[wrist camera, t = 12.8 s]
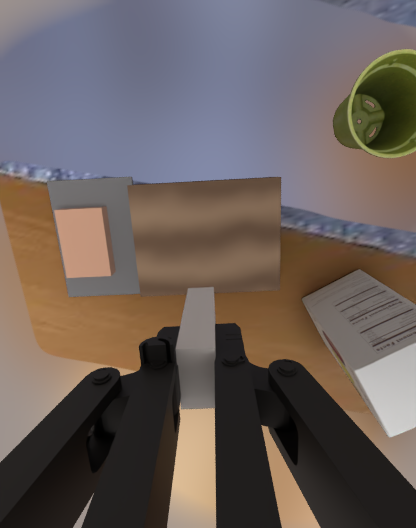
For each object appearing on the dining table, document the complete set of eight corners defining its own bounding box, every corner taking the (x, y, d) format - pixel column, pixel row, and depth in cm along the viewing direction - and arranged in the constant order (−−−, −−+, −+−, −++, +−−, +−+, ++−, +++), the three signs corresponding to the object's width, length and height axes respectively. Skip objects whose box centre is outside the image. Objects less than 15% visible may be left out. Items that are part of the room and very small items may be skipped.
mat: (145, 292, 44) (145, 293, 44) (69, 296, 44) (68, 296, 44) (132, 176, 40) (131, 176, 39) (48, 181, 40) (46, 181, 40)
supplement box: (299, 297, 44) (350, 368, 28) (359, 266, 43) (450, 321, 26) (327, 348, 46) (390, 442, 30) (385, 320, 45) (484, 402, 29)
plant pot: (303, 138, 38) (328, 127, 30) (347, 62, 36) (389, 27, 27) (364, 175, 39) (405, 175, 31) (411, 104, 37) (470, 83, 29)
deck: (273, 280, 43) (279, 290, 39) (146, 285, 44) (140, 296, 40) (274, 177, 39) (281, 177, 36) (135, 184, 40) (127, 185, 36)
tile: (66, 278, 41) (73, 273, 43) (111, 276, 41) (115, 271, 43) (54, 210, 39) (61, 208, 40) (101, 207, 38) (106, 206, 40)
